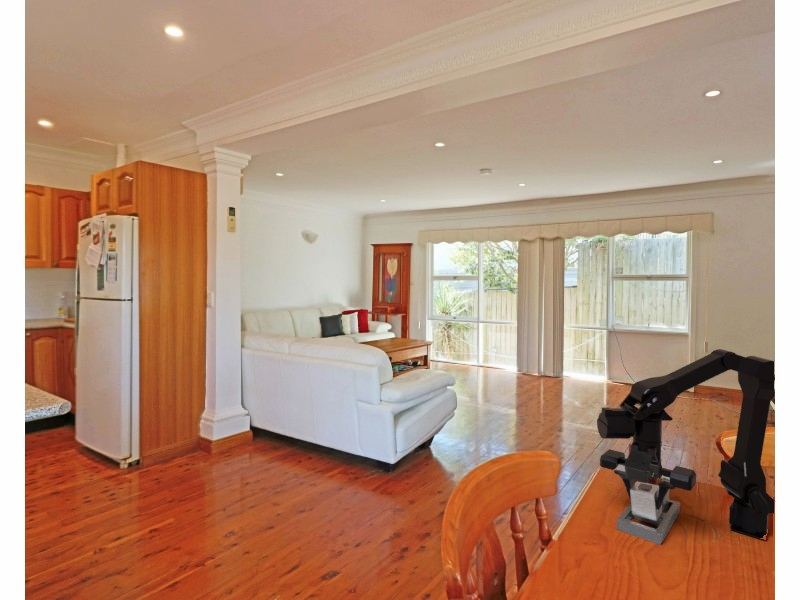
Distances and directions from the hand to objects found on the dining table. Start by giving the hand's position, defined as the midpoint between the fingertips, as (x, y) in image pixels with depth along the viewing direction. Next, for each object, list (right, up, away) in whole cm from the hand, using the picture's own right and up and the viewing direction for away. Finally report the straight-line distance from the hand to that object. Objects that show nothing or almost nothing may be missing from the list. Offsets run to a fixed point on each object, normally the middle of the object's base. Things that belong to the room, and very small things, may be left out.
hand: (645, 504), depth 106 cm
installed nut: (+6, -5, +7) cm, 11 cm away
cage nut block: (+1, -2, +1) cm, 2 cm away
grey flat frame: (+3, -5, +4) cm, 7 cm away
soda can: (+10, -5, +20) cm, 23 cm away
